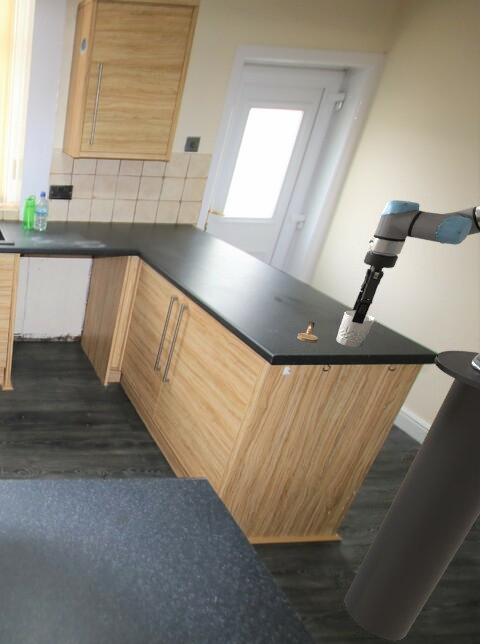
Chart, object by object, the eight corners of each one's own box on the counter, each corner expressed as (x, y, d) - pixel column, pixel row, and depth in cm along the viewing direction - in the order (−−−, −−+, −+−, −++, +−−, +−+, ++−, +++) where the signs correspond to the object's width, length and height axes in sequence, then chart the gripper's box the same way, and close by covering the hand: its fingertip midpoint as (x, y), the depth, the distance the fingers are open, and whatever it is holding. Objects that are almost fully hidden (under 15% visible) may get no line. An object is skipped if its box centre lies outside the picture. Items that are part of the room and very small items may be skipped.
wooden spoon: (302, 323, 172) (303, 319, 171) (320, 327, 169) (322, 323, 168) (296, 339, 158) (297, 335, 157) (316, 344, 154) (318, 340, 154)
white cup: (356, 339, 159) (368, 312, 154) (367, 350, 152) (380, 322, 147) (329, 336, 160) (340, 309, 156) (339, 346, 154) (351, 318, 149)
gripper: (367, 243, 155) (344, 303, 164) (367, 258, 137) (341, 324, 146) (397, 247, 151) (371, 309, 160) (401, 263, 133) (372, 331, 141)
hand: (357, 316), depth 153 cm, fingers open, 13 cm apart
